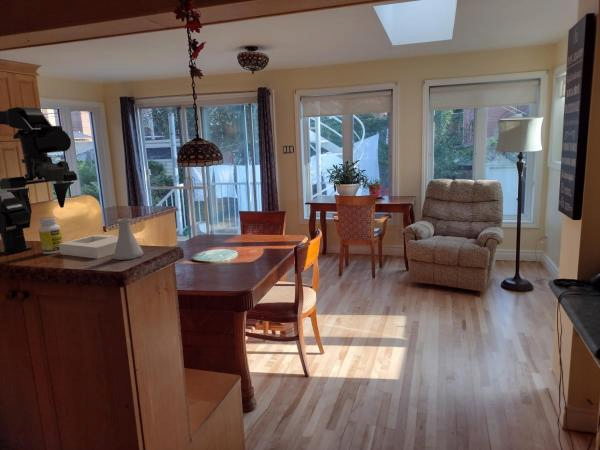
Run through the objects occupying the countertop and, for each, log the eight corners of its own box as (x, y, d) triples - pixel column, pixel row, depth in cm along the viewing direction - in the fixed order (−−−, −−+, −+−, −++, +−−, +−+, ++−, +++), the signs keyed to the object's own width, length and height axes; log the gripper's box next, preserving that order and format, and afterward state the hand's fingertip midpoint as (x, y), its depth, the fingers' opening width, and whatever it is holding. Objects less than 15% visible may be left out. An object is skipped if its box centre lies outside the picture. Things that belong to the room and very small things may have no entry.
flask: (133, 260, 111) (128, 222, 109) (108, 260, 113) (102, 222, 111) (148, 253, 118) (143, 216, 116) (124, 253, 120) (119, 217, 118)
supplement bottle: (55, 254, 124) (49, 219, 122) (38, 254, 124) (32, 220, 123) (68, 249, 129) (62, 216, 127) (51, 249, 130) (45, 216, 128)
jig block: (60, 254, 123) (59, 243, 123) (98, 243, 134) (97, 234, 133) (98, 258, 115) (96, 247, 115) (135, 247, 126) (133, 237, 125)
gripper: (16, 155, 109) (29, 217, 112) (84, 150, 125) (94, 204, 128) (-8, 157, 115) (5, 216, 118) (60, 152, 131) (70, 204, 134)
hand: (46, 210), depth 124 cm, fingers open, 9 cm apart
